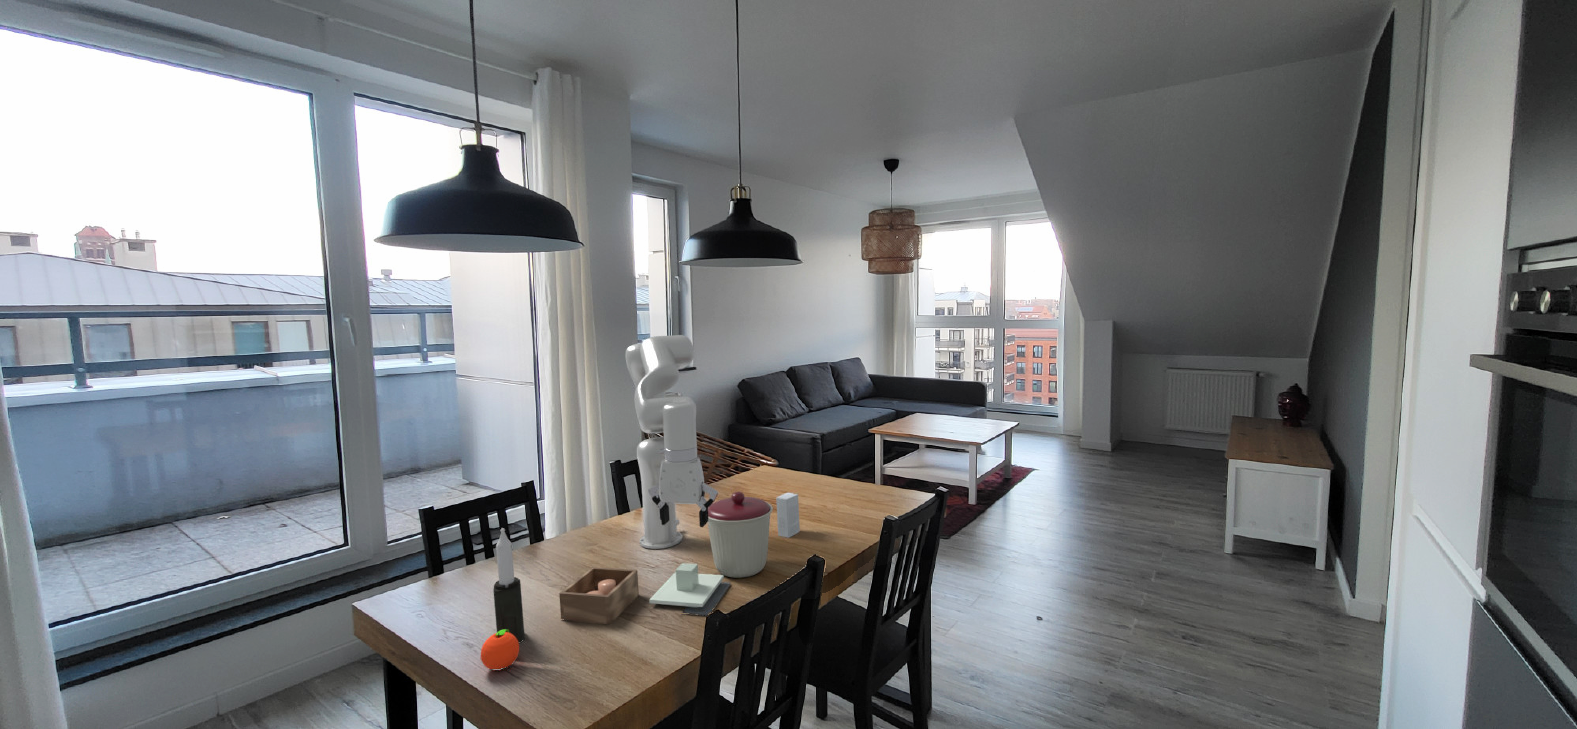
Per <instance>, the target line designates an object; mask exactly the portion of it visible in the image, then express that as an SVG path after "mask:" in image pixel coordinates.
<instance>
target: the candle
mask: <svg viewBox="0 0 1577 729" xmlns="http://www.w3.org/2000/svg"><path fill="white" fill-rule="evenodd" d="M499 531H500V535H499V539H498V541H497V543H496V545H495V549H496V562H497V573H498V580H497V581H496V582H495V583H494V584H493V591H492V592H493V602H494V604H493V605H494V614H495V625H496V626H495V627H496V633H497V632H498V631H500V630H503V629H508V630H509V633H511V634H513V635H514V636H515V637H516V638H517V640H518V642H521V641H522V640H523V639H524V640H525V622H524V611H523V599H522V583H521V579H519V577H515V572H514V560H513V559H514V558H513V547H512V546H513V545H512V541H510V540H509V538H508V536H507V534H506V532H505V531H506V529H505V528H503V527H501V529H500V530H499ZM505 632H508V631H505ZM521 643H522V642H521Z"/></svg>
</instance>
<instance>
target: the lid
mask: <svg viewBox="0 0 1577 729" xmlns="http://www.w3.org/2000/svg"><path fill="white" fill-rule="evenodd" d="M724 576H725V575H722V574H710V573H699V564H698V563H688V562H687V563H686V562H683V563H681V564H680V565H679V566H678V567H677V568H676V569H675V572H673V574H672V575H671V576H670V577H669V578H668V579H667V581H665V582H664V583H663V584H662V586H660V588H659V589H658V590H657V591H656V592H655V593H654V594H653V595H652V596H651V597H650V598H649V604H656V605H657V604H658V605H659V604H660V605H666V606H667V605H668V606H676V607H677V606H678V607H679V606H680V607H694V608H698V607H703V606H704V604H705V603H706V602H707V600H708V599H709V598H710V596H711V595H712V593H713V592H714V591H715V589H716V588H717V587H718V585H719V584H720V583H721V582H723V580H724Z"/></svg>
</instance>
